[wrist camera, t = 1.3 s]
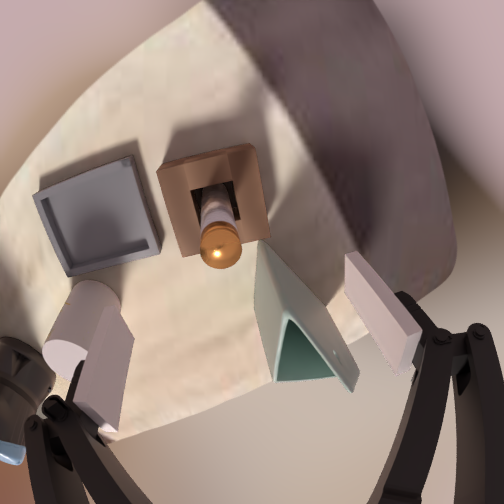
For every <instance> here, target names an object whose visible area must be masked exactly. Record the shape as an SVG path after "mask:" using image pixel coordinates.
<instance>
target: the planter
mask: <svg viewBox="0 0 504 504" xmlns="http://www.w3.org/2000/svg"><path fill="white" fill-rule="evenodd" d="M254 311H255V314H256V318H257V323H258V327H259V331H260V335H261V339H262V343H263V347H264V351H265V354H266V358H267V362H268V366H269V370H270V373H271V377H272V381H273V382H275V383H279V382H280V383H282V382H299V381H309V380H317V379H325V378H333V377H337V378H338V380H339V381H340V382H341V383H342V385H343V386H344V387H345V389H346V390H347V391H348V392H349V393H353V392H354V388H355V385H356V382H357V380H358V377H359V374H360V371H359V368H358V366H357V364H356V362H355V360H354V358H353V357H352V355H351V353H350V351H349V349H348V347H347V345H346V343H345V341H344V340H343V338H342V336H341V334H340V332H339V330H338V328H337V327H336V325H335V323H334V321H333V319H332V317H331V315H330V314H329V312H328V310H327V308H326V306H325V305H324V304H323V303H322V302H321V301H320V300H319V299H318V298H317V297H316V295H315V294H314V293H313V292H312V291H311V290H310V289H309V288H308V287H307V286H306V285H305V284H304V283H303V282H302V280H301V279H300V278H299V277H298V276H297V275H296V274H295V273H294V272H293V271H292V270H291V269H290V268H289V267H288V266H287V265H286V263H285V262H284V261H283V260H282V259H281V258H280V257H279V256H278V255H277V254H276V253H275V252H274V251H273V250H272V249H271V248H270V247H269V245H268V244H267V243H266V242H265V241H264V240H259V242H258V246H257V263H256V276H255V289H254Z"/></svg>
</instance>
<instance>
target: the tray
mask: <svg viewBox="0 0 504 504" xmlns="http://www.w3.org/2000/svg"><path fill="white" fill-rule="evenodd" d="M32 196H33V199H34V202H35V205H36V207H37V210H38V213H39V215H40V218H41V220H42V223H43V225H44V228H45V230H46V232H47V235H48V237H49V239H50V242H51V244H52V246H53V248H54V250H55V253H56V255H57V257H58V259H59V261H60V263H61V265H62V267H63V269H64V271H65V273H66V275H67V277H72V276H76V275H79V274H83V273H87V272H91V271H95V270H99V269H103V268H107V267H111V266H115V265H118V264H122V263H126V262H130V261H134V260H138V259H143V258H147V257H151V256H155V255H159V254H160V253H161V249H162V246H161V243H160V240H159V238H158V235H157V232H156V229H155V226H154V223H153V220H152V217H151V214H150V211H149V208H148V204H147V201H146V198H145V195H144V192H143V188H142V185H141V182H140V178H139V175H138V172H137V168H136V165H135V161H134V157H133V155H131V156H128V157H125V158H122V159H119V160H116V161H113V162H110V163H107V164H104V165H102V166H99V167H96V168H93V169H91V170H88V171H86V172H83V173H80V174H78V175H75V176H73V177H70V178H68V179H66V180H63V181H61V182H58V183H56V184H54V185H52V186H49V187H47V188H45V189H43V190H40V191H38V192H37V193H35V194H34V195H32Z"/></svg>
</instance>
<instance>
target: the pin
mask: <svg viewBox="0 0 504 504" xmlns="http://www.w3.org/2000/svg"><path fill="white" fill-rule="evenodd" d="M241 253H242V246H241V242H240V238H239V234H238V231H237V227H236V223H235V219H234V215H233V211H232V207H231V203H230V199H229V195H228V191H227V188H226V187H225V186H224V185H223V184H222V183H219V184H215V185H210V186H206V187H204V188H203V190H202V202H201V233H200V254H201V257H202V259H203V261H204V262H205V263H206V264H207V265H209V266H210V267H213V268H217V269H224V268H228V267H231V266H232V265H234V264H235V263H236V262H237V261H238V260H239V258H240V256H241Z"/></svg>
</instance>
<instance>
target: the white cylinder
mask: <svg viewBox="0 0 504 504" xmlns="http://www.w3.org/2000/svg"><path fill="white" fill-rule="evenodd" d="M112 305H116V307H117V308H118V310H119V312H121V304H120V301H119V298H118V297H117V295H116V294H115V292H114V291H113V290H112V289H111V288H109V287H108V286H107V285H105V284H103V283H101V282H98V281H95V280H83V281H80V282H79V283H77V284H76V285H75V286H74V288H73V289H72V291H71V293H70V295H69V296H68V298H67V300H66V302H65V304H64V306H63V307H62V309H61V311H60V313H59V315H58V317H57V319H56V321H55V323H54V325H53V327H52V329H51V331H50V333H49V335H48V337H47V339H46V341H45V343H44V345H43V348H42V354H43V357H44V359H45V361H46V363H47V364H48V366H49V367H50V368H51V369H52V370H53V371H54V372H55V373H57V374H58V375H59V376H61V377H63V378H64V379H66V380H68V381H71V380H72V377H73V374H74V371H75V368H76V366H77V365H78V364H79V362H80V361H81V360H85V359H86V356H87V353H88V350H89V347H90V345H91V342H92V339H93V336H94V333H95V331H96V328H97V325H98V323H99V320H100V317H101V315H102V312H103V310H104V307H107V306H112Z"/></svg>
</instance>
